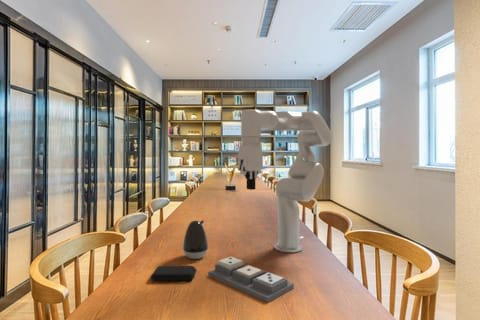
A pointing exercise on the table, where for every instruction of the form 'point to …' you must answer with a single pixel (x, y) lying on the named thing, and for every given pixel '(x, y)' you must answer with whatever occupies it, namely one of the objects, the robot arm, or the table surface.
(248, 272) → the tile one
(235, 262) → the tile two
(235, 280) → the button board
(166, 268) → the carrying case or bag
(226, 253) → the table surface
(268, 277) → the tile three
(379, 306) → the table surface
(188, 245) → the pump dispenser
